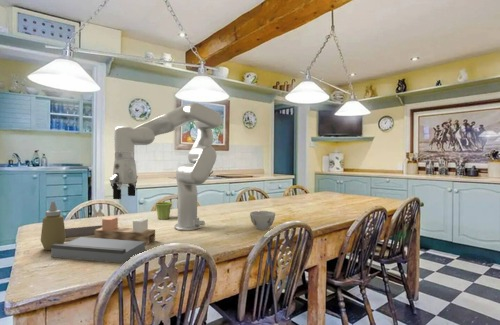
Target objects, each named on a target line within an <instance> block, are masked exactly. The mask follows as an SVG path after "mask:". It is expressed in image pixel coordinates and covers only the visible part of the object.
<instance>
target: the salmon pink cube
mask: <svg viewBox="0 0 500 325" xmlns="http://www.w3.org/2000/svg"><path fill="white" fill-rule="evenodd" d="M101 221H102V222H101V225H102V230H110V231H111V230H114V229H116V228H118V227H119V225H118V224H119V222H118V221H119V218H118V217H114V216H108V217H105V218H103V219H102V220H101Z"/></svg>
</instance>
